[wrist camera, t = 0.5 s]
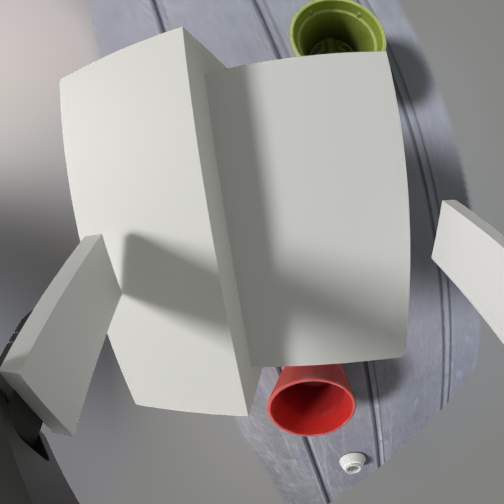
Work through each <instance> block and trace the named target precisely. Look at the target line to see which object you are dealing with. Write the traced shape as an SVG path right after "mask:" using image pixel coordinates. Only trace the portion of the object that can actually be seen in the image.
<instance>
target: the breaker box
mask: <svg viewBox="0 0 504 504" xmlns="http://www.w3.org/2000/svg"><path fill="white" fill-rule="evenodd" d="M60 103H61V119H62V130H63V141H64V149H65V158H66V165H67V173H68V179H69V185H70V192H71V197H72V203H73V208H74V213H75V218H76V223H77V228H78V232H79V237H80V241H82V240H83V238H84V237H85V236H91V235H98V234H102V236H103V239H104V242H105V245H106V248H107V251H108V254H109V257H110V260H111V263H112V266H113V269H114V272H115V275H116V278H117V281H118V283H119V286H120V289H121V292H122V295H121V298H120V300H119V303H118V305H117V308H116V310H115V313H114V316H113V318H112V321H111V323H110V326H109V329H108V331H107V333H108V336H109V339H110V342H111V345H112V347H113V350H114V352H115V355H116V358H117V360H118V363H119V365H120V368H121V370H122V373H123V375H124V378H125V380H126V382H127V384H128V387H129V389H130V392H131V394H132V396H133V398H134V401H135V403H136V404H137V405H142V406H148V407H155V408H162V409H169V410H177V411H186V412H196V413H206V414H219V415H234V416H249V412H250V409H251V405H252V402H253V399H254V395H255V392H256V388H257V385H258V381H259V378H260V374H261V370H262V367H281V366H307V365H325V364H339V363H351V362H362V361H372V360H381V359H390V358H398V357H404V355H405V346H406V336H407V325H408V311H409V292H410V216H409V197H408V183H407V172H406V161H405V152H404V144H403V137H402V129H401V123H400V116H399V110H398V104H397V99H396V93H395V88H394V83H393V78H392V74H391V69H390V65H389V61H388V56H387V52H348V53H332V54H320V55H310V56H301V57H293V58H285V59H278V60H272V61H266V62H260V63H254V64H249V65H243V66H238V67H233V68H229V69H227V68H226V67H225V66H224V65H223V64H222V63H221V62H220V61H219V60H218V59H217V58H216V57H215V56H214V55H213V54H212V53H211V52H210V51H208V50H207V49H206V48H205V47H204V46H203V45H202V44H201V43H200V42H199V41H198V40H196V39H195V38H194V37H193V36H192V35H191V34H190V33H189V32H188V31H186V30H185V29H184V28H183V27H180V28H177V29H174V30H171V31H168V32H165V33H162V34H160V35H157V36H154V37H151V38H149V39H146V40H143V41H141V42H138V43H136V44H133V45H131V46H128V47H126V48H124V49H121V50H119V51H117V52H114V53H112V54H110V55H108V56H105V57H103V58H101V59H99V60H97V61H95V62H93V63H91V64H89V65H87V66H85V67H83V68H81V69H79V70H77V71H75V72H74V73H72V74H70V75H68V76H66V77H64V78H62V79H61V80H60Z"/></svg>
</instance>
